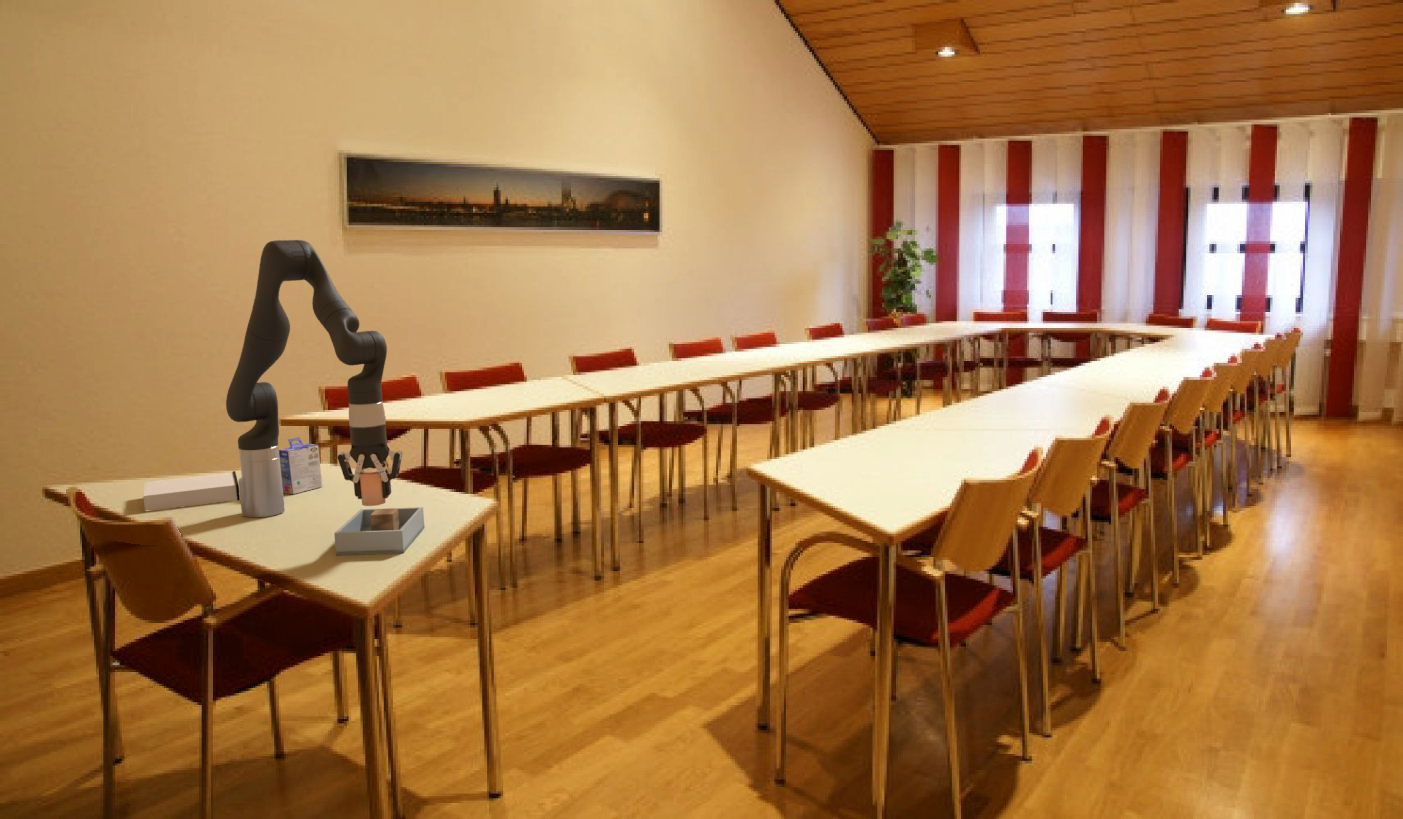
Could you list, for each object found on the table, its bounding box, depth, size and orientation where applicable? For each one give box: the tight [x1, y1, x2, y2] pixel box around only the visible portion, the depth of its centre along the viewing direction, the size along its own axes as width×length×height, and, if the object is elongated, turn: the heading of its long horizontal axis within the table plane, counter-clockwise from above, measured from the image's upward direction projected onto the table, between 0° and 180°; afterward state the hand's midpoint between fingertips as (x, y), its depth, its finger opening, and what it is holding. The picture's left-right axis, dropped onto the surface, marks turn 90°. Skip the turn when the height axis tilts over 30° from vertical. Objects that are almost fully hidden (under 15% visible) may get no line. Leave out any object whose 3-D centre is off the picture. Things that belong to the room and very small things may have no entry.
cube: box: [371, 507, 400, 531], centre depth 232 cm, size 5×5×5 cm
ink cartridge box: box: [279, 436, 323, 495], centre depth 278 cm, size 10×6×14 cm, turn 148°
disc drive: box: [142, 470, 241, 511], centre depth 272 cm, size 18×22×5 cm
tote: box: [334, 506, 425, 556], centre depth 229 cm, size 15×20×5 cm
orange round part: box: [360, 469, 386, 507], centre depth 223 cm, size 5×5×7 cm
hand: (373, 497), depth 223 cm, fingers closed on orange round part, 5 cm apart
